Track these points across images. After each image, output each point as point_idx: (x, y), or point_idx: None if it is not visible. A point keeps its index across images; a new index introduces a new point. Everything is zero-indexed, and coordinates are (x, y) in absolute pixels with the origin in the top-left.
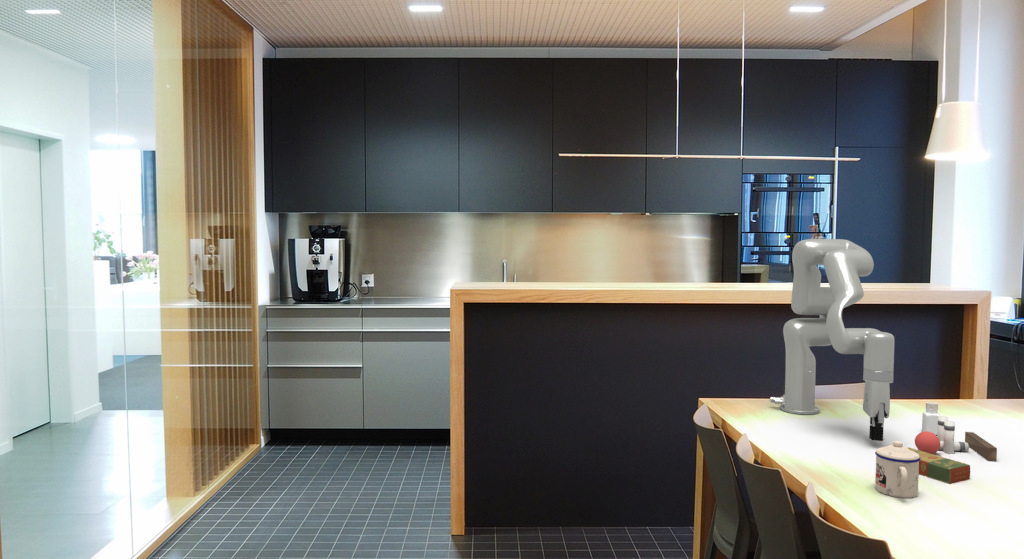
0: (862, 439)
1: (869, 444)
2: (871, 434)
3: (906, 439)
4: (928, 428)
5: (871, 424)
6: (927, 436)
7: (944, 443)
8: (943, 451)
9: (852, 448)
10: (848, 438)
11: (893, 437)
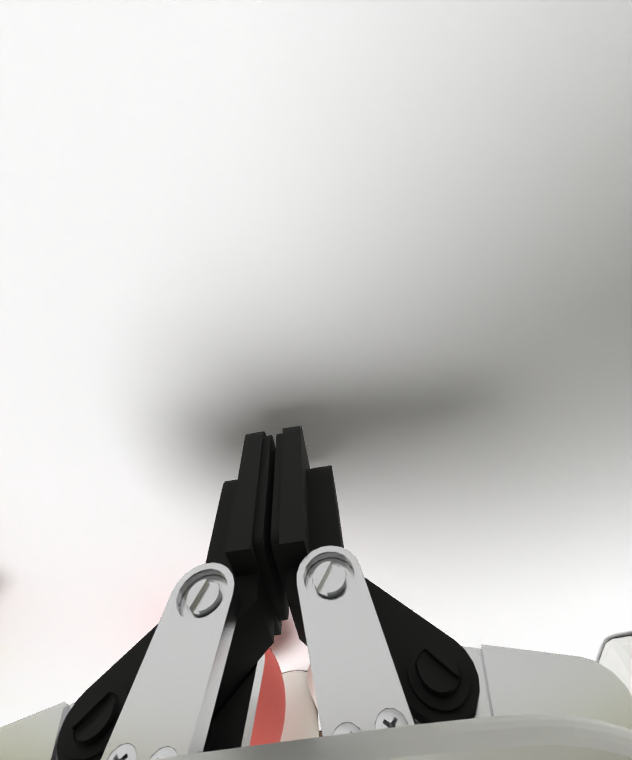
0: (436, 351)
1: (282, 395)
2: (242, 474)
3: (504, 576)
4: (629, 686)
5: (309, 562)
6: None
7: (286, 731)
8: (293, 675)
9: (25, 243)
10: (441, 222)
11: (542, 529)
